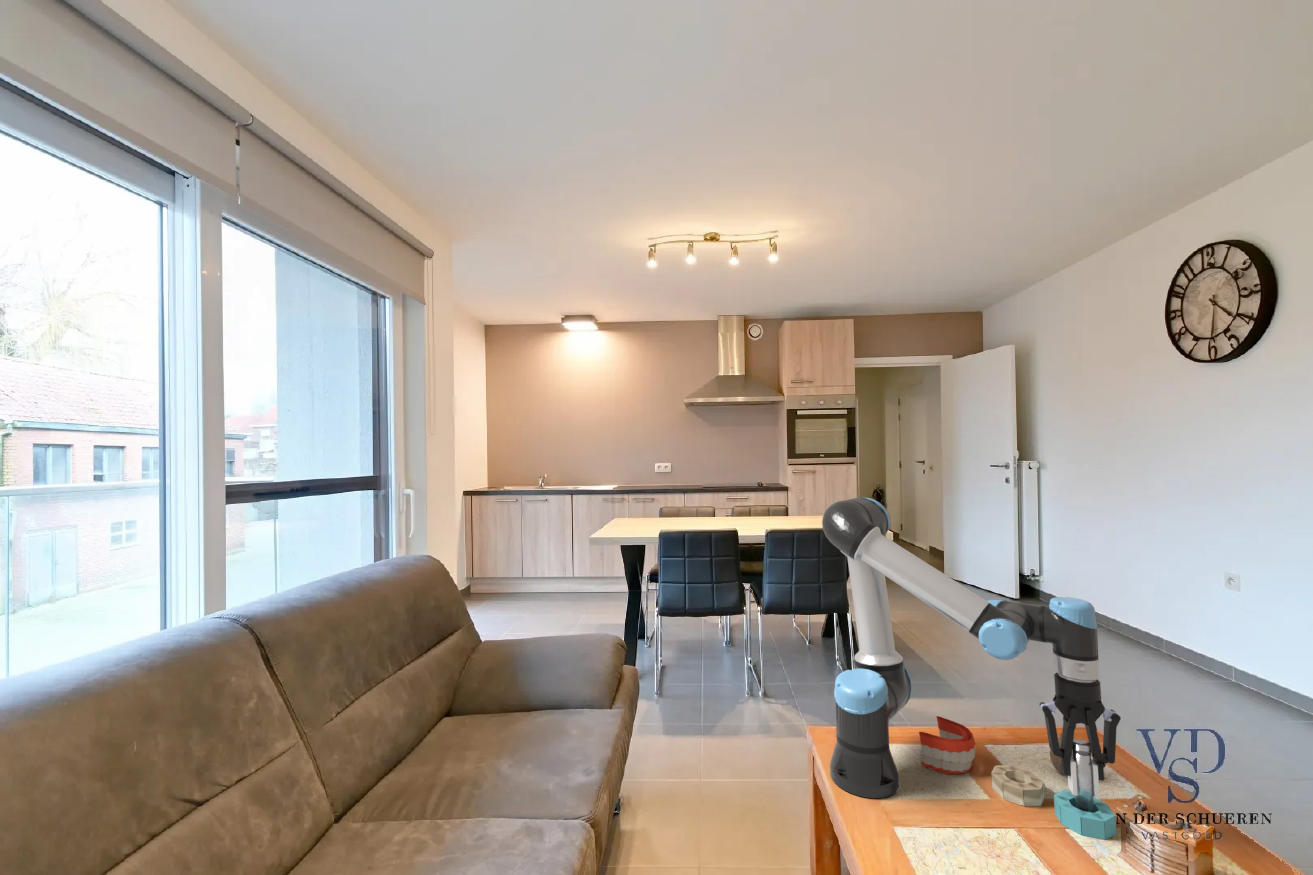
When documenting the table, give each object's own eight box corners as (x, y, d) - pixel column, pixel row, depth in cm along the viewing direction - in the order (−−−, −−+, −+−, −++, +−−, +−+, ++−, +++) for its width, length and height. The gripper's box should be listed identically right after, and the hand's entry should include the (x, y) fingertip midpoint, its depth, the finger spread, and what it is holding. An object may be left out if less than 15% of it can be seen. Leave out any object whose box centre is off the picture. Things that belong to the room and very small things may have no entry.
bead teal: (1065, 832, 108) (1064, 814, 108) (1050, 804, 116) (1049, 787, 116) (1122, 842, 104) (1121, 824, 105) (1102, 813, 113) (1101, 795, 113)
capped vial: (1078, 816, 109) (1074, 745, 110) (1073, 806, 112) (1069, 737, 113) (1097, 819, 108) (1093, 747, 109) (1091, 809, 111) (1087, 739, 112)
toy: (966, 784, 124) (964, 749, 124) (919, 766, 132) (917, 732, 132) (983, 762, 132) (982, 729, 133) (938, 746, 140) (937, 715, 140)
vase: (1094, 783, 123) (1092, 744, 123) (1060, 781, 124) (1058, 742, 125) (1077, 766, 130) (1075, 729, 130) (1045, 764, 131) (1043, 727, 131)
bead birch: (1011, 806, 116) (1011, 790, 116) (984, 781, 125) (983, 765, 125) (1053, 805, 116) (1053, 788, 116) (1023, 779, 125) (1022, 764, 125)
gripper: (1036, 678, 111) (1043, 796, 110) (1133, 687, 105) (1141, 812, 104) (1025, 665, 118) (1032, 775, 117) (1116, 673, 112) (1124, 789, 111)
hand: (1083, 792), depth 110 cm, fingers closed on capped vial, 3 cm apart
